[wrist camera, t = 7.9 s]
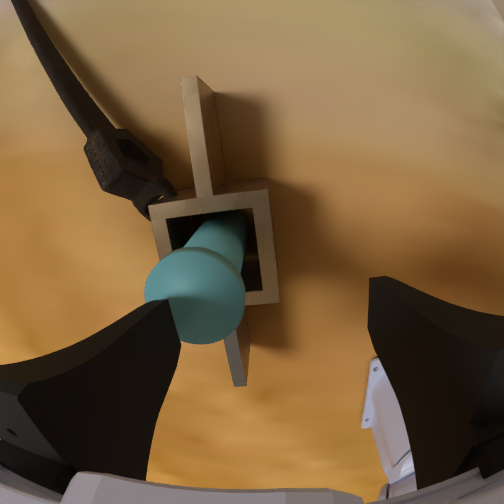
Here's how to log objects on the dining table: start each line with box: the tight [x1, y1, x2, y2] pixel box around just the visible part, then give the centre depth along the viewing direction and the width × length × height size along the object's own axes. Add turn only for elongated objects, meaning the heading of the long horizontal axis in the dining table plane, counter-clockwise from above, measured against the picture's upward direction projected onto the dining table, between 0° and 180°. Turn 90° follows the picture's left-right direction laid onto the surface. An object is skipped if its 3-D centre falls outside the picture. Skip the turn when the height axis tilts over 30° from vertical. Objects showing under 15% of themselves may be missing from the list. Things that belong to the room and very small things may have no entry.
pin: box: [144, 210, 249, 344], centre depth 16 cm, size 4×4×10 cm
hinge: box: [148, 75, 280, 387], centre depth 18 cm, size 18×6×5 cm, turn 7°
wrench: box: [11, 0, 178, 222], centre depth 14 cm, size 5×5×30 cm
